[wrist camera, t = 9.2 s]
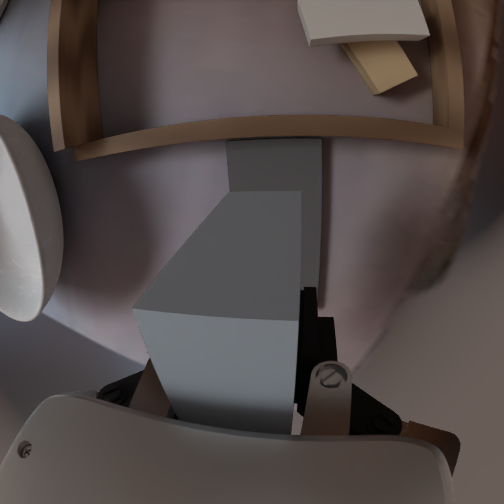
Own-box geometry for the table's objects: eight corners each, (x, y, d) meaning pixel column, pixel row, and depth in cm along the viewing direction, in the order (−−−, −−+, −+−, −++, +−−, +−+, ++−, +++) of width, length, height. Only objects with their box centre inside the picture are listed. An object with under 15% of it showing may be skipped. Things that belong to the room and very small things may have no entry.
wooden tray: (88, -8, 13) (54, -19, 9) (423, -41, 8) (445, -65, 5) (94, 155, 20) (56, 168, 16) (446, 144, 15) (480, 155, 11)
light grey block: (229, 192, 12) (131, 308, 5) (301, 190, 12) (298, 320, 4) (246, 360, 16) (214, 483, 9) (296, 363, 16) (284, 491, 9)
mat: (227, 140, 18) (225, 141, 17) (320, 137, 17) (321, 138, 16) (242, 305, 24) (241, 309, 23) (316, 307, 23) (316, 311, 22)
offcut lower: (293, -8, 13) (292, -21, 11) (329, -24, 12) (331, -37, 10) (371, 95, 16) (380, 93, 14) (406, 78, 14) (417, 75, 12)
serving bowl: (83, 82, 17) (20, 84, 11) (110, 302, 27) (74, 346, 21) (-24, 123, 19) (-66, 136, 13) (3, 271, 29) (-28, 297, 23)
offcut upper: (309, 46, 13) (310, 39, 11) (297, 10, 12) (297, -1, 10) (418, 41, 11) (430, 35, 10) (406, 5, 10) (416, -3, 9)
